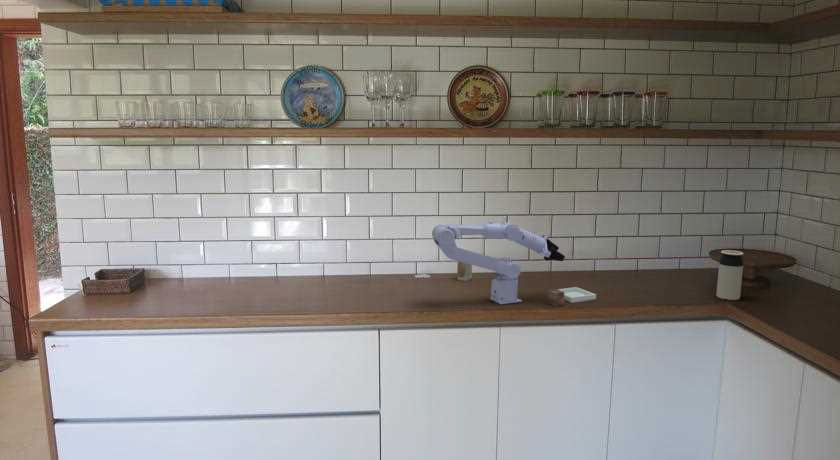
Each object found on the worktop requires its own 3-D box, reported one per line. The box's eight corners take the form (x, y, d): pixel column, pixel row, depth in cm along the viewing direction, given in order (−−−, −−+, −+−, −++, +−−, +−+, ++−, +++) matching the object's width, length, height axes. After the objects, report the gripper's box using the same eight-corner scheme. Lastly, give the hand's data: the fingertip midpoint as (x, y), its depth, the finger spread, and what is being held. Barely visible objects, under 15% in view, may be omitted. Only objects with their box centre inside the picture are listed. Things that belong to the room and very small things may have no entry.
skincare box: (463, 277, 244) (463, 249, 242) (472, 278, 242) (472, 250, 240) (456, 280, 239) (457, 252, 237) (465, 281, 236) (466, 253, 234)
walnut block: (554, 306, 201) (555, 293, 200) (548, 303, 205) (548, 290, 204) (563, 305, 203) (564, 292, 202) (557, 302, 206) (557, 289, 206)
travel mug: (739, 301, 208) (744, 254, 205) (715, 298, 212) (719, 252, 209) (740, 296, 215) (744, 251, 212) (716, 293, 219) (721, 249, 216)
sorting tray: (571, 303, 205) (571, 297, 205) (552, 295, 216) (552, 290, 216) (596, 299, 210) (596, 294, 210) (576, 292, 220) (576, 287, 220)
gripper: (540, 240, 198) (572, 254, 202) (530, 224, 212) (560, 237, 215) (530, 256, 201) (561, 269, 204) (521, 239, 214) (550, 252, 217)
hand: (560, 254), depth 210 cm, fingers open, 7 cm apart
